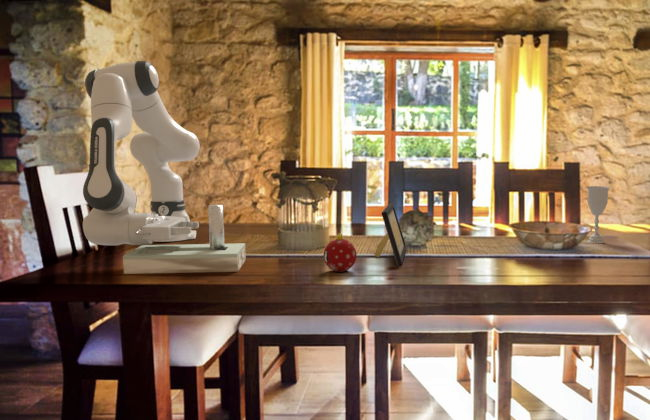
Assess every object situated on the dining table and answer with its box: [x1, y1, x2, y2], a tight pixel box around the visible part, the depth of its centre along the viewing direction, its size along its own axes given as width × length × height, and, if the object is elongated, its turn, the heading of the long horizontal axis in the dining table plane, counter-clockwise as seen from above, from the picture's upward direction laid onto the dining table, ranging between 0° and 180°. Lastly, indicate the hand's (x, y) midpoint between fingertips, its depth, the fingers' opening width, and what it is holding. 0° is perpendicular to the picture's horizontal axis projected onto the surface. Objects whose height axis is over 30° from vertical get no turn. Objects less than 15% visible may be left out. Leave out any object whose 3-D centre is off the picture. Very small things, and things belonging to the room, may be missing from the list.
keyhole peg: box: [207, 204, 226, 251], centre depth 153 cm, size 8×8×16 cm
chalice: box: [586, 185, 610, 244], centre depth 180 cm, size 7×7×18 cm
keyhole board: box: [122, 242, 247, 275], centre depth 154 cm, size 16×30×5 cm, turn 91°
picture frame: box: [374, 202, 407, 266], centre depth 162 cm, size 23×9×15 cm, turn 168°
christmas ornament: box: [323, 233, 358, 273], centre depth 144 cm, size 9×9×10 cm
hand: (194, 227), depth 153 cm, fingers open, 8 cm apart
